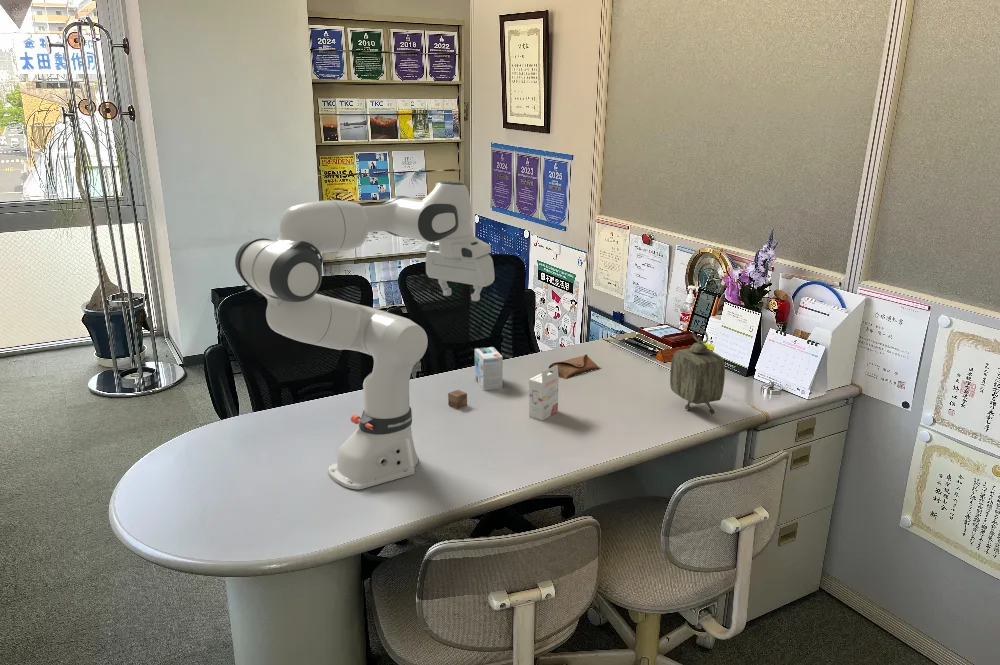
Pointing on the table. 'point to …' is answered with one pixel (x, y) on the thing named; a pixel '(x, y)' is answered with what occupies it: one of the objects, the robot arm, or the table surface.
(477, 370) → the light bulb box
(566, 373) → the sunglasses case
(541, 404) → the ink cartridge box
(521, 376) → the table surface
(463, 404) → the walnut block
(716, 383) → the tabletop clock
